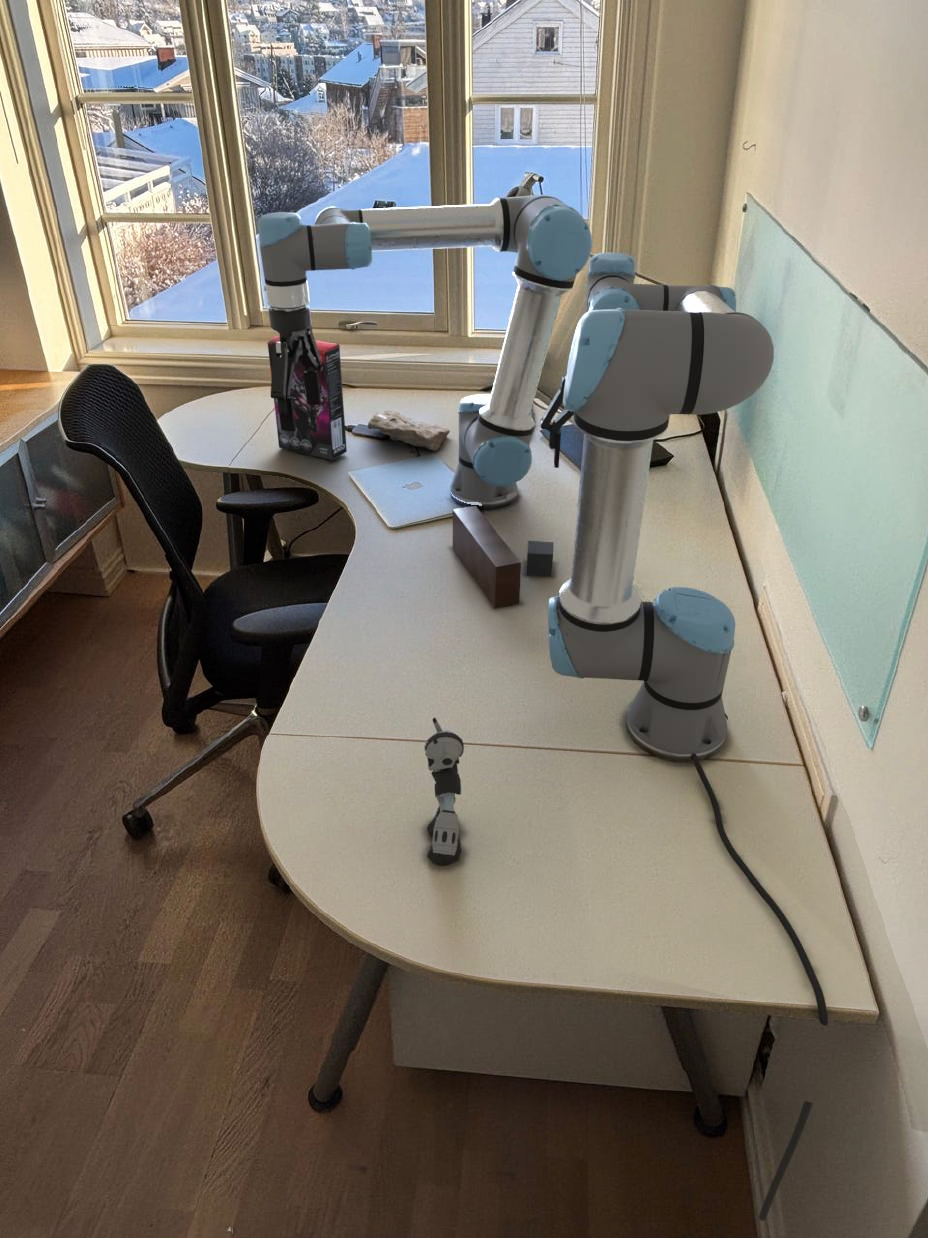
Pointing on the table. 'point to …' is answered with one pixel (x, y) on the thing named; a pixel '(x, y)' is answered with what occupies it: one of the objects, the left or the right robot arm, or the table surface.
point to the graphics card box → (316, 408)
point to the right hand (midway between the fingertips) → (593, 465)
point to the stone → (408, 430)
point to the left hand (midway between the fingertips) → (301, 416)
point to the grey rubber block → (539, 558)
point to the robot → (444, 794)
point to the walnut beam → (486, 557)
